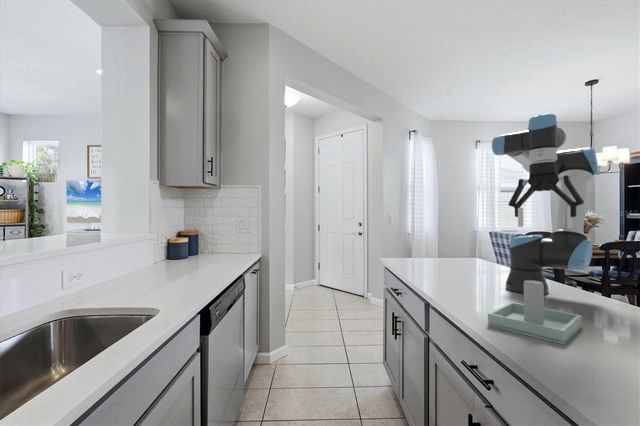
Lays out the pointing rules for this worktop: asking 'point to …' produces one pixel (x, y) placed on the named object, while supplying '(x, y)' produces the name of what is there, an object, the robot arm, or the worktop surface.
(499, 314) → the tray
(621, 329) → the worktop surface
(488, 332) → the worktop surface
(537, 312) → the beverage can
